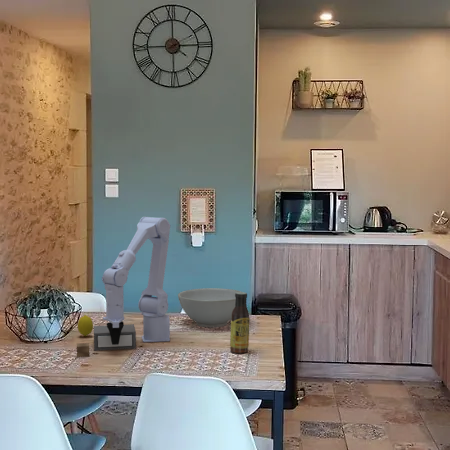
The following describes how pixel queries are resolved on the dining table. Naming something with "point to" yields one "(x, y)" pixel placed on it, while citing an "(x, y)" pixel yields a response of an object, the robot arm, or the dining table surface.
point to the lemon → (85, 325)
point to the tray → (106, 342)
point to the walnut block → (83, 350)
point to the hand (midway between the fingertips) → (115, 344)
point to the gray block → (104, 331)
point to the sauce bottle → (240, 325)
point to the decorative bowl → (208, 306)
